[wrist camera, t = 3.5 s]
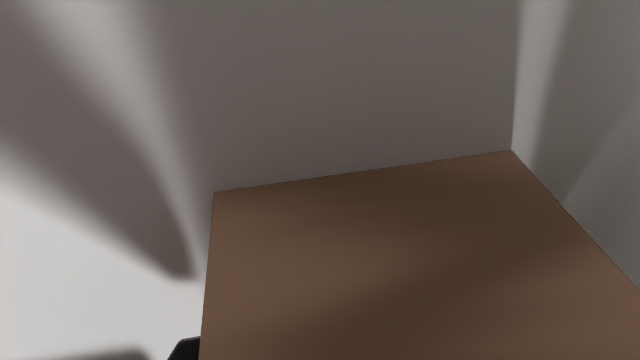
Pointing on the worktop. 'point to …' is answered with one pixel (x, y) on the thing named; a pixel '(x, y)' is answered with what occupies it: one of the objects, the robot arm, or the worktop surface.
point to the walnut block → (412, 270)
